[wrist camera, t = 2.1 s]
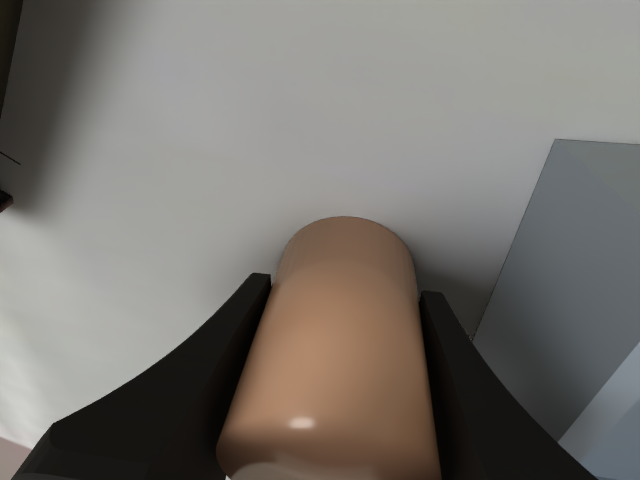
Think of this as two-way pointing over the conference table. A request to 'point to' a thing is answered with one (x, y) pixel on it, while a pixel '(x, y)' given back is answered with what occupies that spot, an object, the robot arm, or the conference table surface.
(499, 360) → the box
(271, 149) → the conference table surface
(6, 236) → the conference table surface
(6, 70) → the diary
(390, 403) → the terracotta cylinder
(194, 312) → the conference table surface
